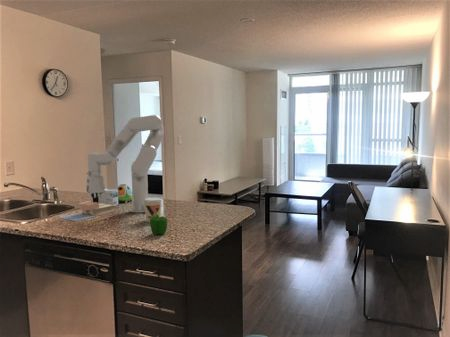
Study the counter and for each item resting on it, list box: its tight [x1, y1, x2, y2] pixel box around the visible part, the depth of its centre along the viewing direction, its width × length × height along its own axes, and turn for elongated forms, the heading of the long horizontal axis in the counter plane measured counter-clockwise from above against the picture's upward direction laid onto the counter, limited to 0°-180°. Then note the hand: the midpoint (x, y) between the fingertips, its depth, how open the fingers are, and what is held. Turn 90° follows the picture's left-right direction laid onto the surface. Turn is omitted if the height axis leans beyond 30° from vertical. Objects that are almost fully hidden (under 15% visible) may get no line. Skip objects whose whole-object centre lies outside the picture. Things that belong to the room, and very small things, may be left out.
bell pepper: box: [149, 214, 168, 236], centre depth 187 cm, size 8×8×10 cm
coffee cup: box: [144, 197, 162, 223], centre depth 214 cm, size 9×9×12 cm
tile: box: [77, 200, 99, 210], centre depth 229 cm, size 10×7×3 cm
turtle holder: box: [115, 183, 132, 204], centre depth 273 cm, size 12×18×12 cm
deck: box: [81, 203, 115, 217], centre depth 235 cm, size 12×14×4 cm
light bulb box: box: [98, 188, 119, 207], centre depth 257 cm, size 11×7×11 cm, turn 76°
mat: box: [58, 212, 96, 222], centre depth 223 cm, size 16×13×1 cm
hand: (95, 203), depth 233 cm, fingers closed
